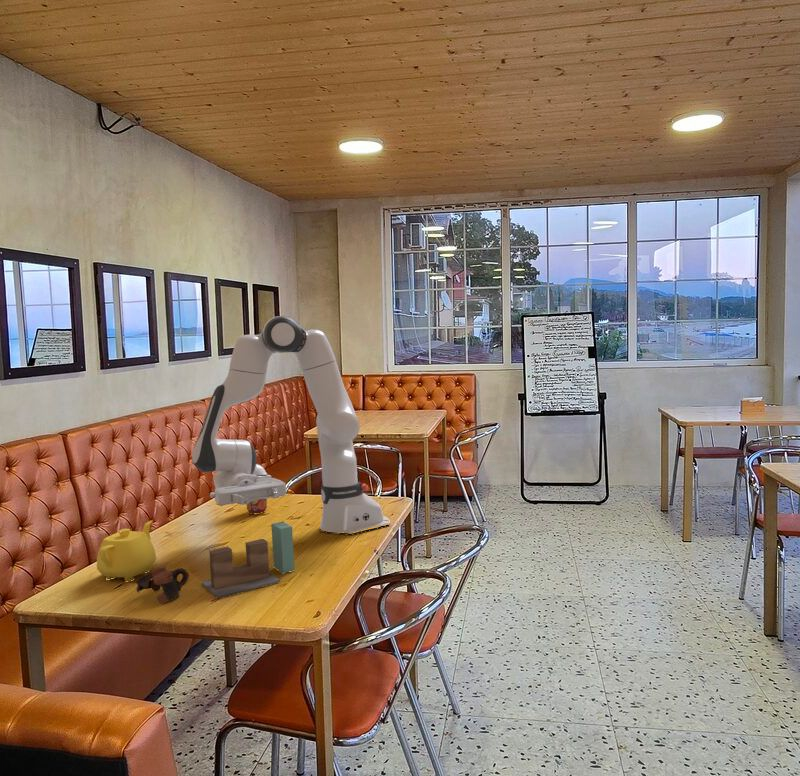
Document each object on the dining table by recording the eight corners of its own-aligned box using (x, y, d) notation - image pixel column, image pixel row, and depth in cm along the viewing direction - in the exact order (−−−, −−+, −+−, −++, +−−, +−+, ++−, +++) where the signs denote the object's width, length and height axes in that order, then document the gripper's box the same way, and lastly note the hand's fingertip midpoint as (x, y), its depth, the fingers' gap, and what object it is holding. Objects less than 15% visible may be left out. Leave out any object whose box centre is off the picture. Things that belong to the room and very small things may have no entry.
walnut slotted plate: (201, 584, 164) (199, 547, 163) (261, 569, 172) (259, 533, 172) (217, 599, 154) (215, 559, 153) (280, 582, 163) (278, 544, 162)
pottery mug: (148, 612, 149) (133, 579, 151) (145, 616, 157) (131, 585, 158) (197, 586, 156) (183, 555, 157) (192, 591, 164) (178, 561, 165)
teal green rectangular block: (273, 568, 173) (271, 523, 172) (285, 565, 175) (282, 521, 174) (283, 574, 168) (280, 528, 167) (294, 571, 170) (292, 526, 169)
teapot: (174, 562, 181) (171, 519, 180) (124, 590, 162) (120, 541, 161) (134, 559, 185) (131, 517, 184) (80, 586, 165) (76, 539, 164)
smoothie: (246, 510, 234) (243, 455, 233) (270, 508, 235) (266, 453, 233) (243, 516, 226) (240, 459, 224) (268, 514, 227) (264, 457, 225)
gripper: (207, 483, 185) (223, 491, 174) (274, 473, 197) (293, 481, 185) (208, 504, 186) (224, 514, 174) (274, 494, 197) (294, 503, 186)
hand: (260, 497), depth 180 cm, fingers open, 8 cm apart
